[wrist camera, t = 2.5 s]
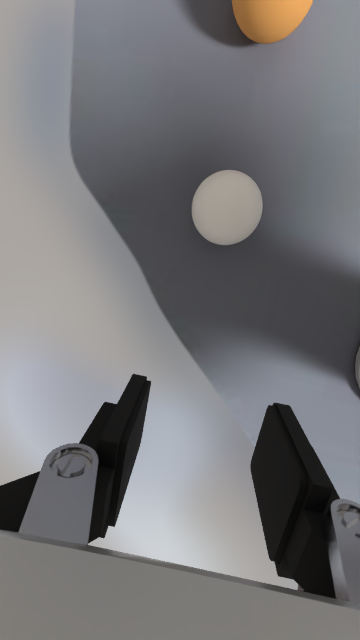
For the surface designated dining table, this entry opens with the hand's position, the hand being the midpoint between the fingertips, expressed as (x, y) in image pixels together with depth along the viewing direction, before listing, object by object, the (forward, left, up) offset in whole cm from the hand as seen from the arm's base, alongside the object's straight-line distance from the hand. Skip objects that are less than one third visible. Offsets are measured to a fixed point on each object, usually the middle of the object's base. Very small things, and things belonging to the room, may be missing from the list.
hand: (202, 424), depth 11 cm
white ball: (+7, -6, -15) cm, 17 cm away
